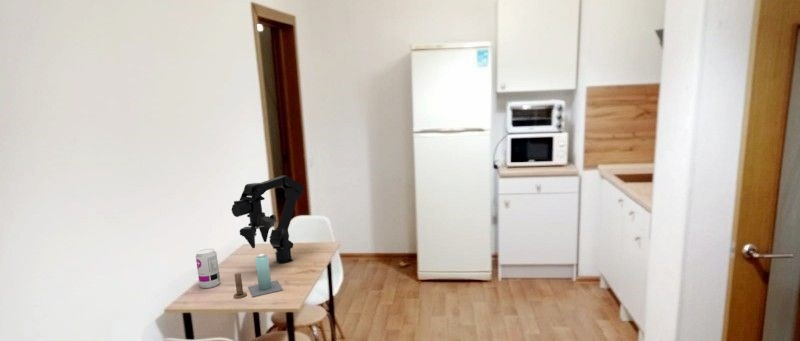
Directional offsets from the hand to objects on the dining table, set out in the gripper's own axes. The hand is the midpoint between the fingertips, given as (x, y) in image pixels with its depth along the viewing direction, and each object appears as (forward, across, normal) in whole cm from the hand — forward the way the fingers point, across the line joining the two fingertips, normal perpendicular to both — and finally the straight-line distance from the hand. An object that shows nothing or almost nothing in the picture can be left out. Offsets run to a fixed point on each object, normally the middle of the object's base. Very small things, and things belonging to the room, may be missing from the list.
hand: (259, 244), depth 208 cm
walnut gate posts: (+12, -20, -8) cm, 24 cm away
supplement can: (+12, -19, +14) cm, 26 cm away
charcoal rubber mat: (+12, -20, -14) cm, 27 cm away
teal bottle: (+12, -20, -14) cm, 27 cm away
